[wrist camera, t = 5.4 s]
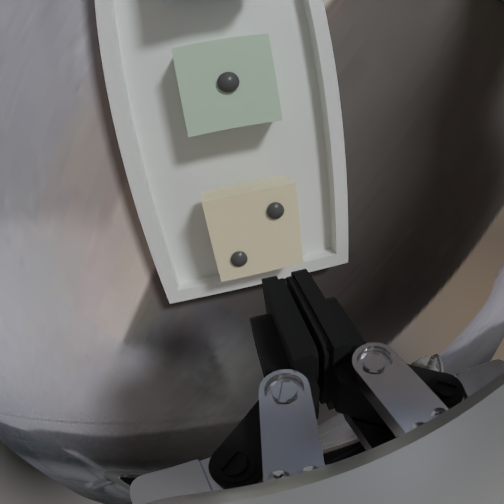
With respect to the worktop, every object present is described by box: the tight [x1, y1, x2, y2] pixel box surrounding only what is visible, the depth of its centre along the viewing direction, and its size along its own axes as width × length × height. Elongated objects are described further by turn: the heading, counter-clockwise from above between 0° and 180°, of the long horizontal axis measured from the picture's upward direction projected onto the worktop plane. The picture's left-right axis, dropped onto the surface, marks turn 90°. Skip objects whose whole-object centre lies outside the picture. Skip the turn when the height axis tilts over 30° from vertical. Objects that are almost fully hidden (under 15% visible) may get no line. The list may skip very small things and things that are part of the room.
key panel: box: [95, 0, 348, 304], centre depth 16 cm, size 14×28×2 cm, turn 9°
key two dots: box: [201, 175, 303, 282], centre depth 18 cm, size 5×5×2 cm
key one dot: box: [171, 34, 283, 137], centre depth 15 cm, size 5×5×2 cm
